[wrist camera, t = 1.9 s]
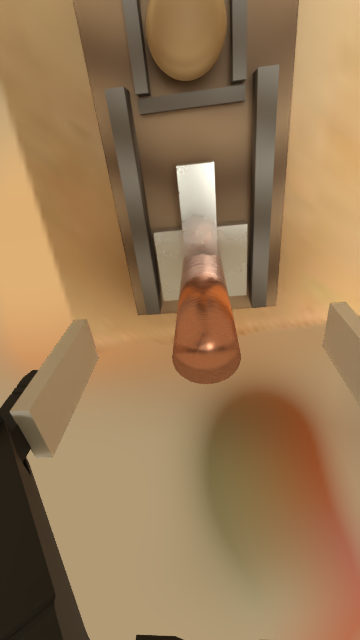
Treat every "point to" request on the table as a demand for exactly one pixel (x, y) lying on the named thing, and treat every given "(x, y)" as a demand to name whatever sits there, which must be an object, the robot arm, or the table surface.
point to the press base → (194, 133)
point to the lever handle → (202, 278)
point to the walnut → (185, 35)
